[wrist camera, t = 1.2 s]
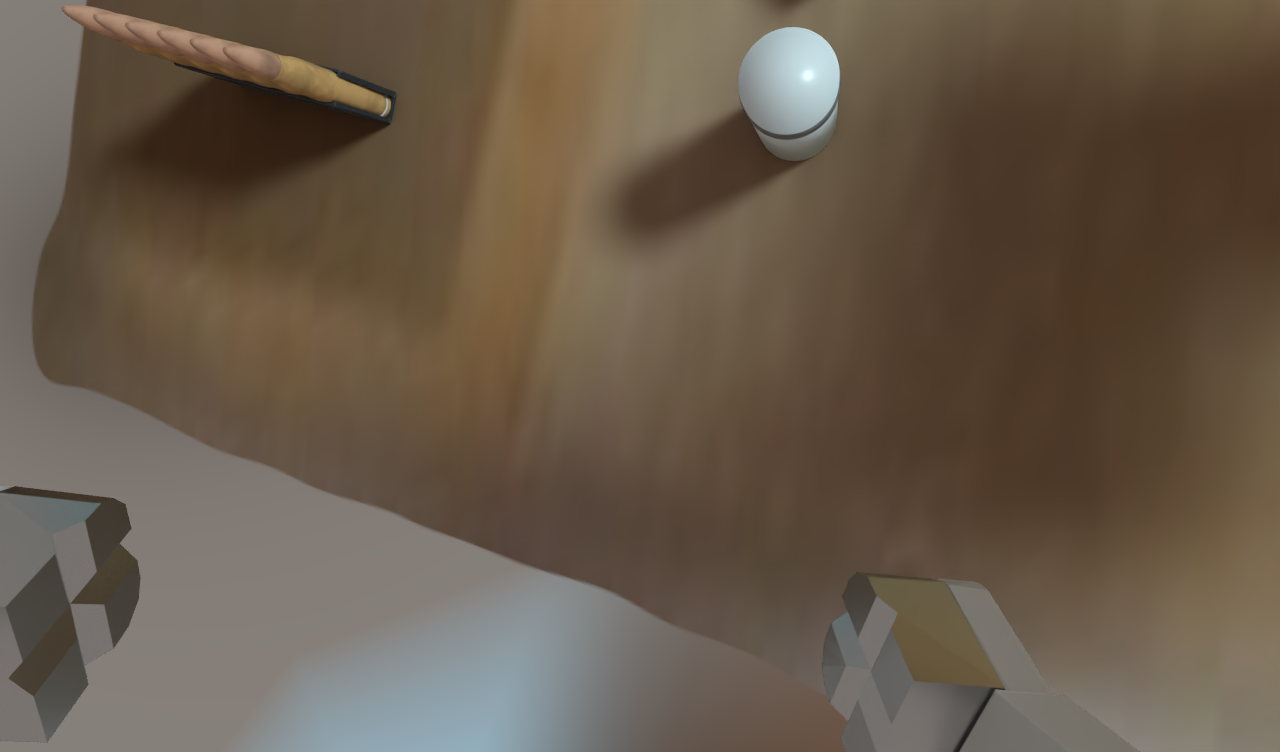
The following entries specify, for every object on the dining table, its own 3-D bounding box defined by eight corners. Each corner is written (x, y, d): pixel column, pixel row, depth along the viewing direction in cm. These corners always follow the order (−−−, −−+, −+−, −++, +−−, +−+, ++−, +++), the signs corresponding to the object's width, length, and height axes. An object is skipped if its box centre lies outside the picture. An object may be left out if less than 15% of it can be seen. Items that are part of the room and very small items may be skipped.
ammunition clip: (398, 93, 44) (245, 32, 32) (392, 125, 44) (238, 76, 33) (243, 53, 46) (48, -18, 34) (238, 84, 46) (43, 25, 35)
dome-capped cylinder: (807, 62, 38) (801, 3, 30) (854, 128, 38) (861, 88, 30) (741, 114, 40) (716, 72, 31) (786, 178, 39) (774, 154, 31)
